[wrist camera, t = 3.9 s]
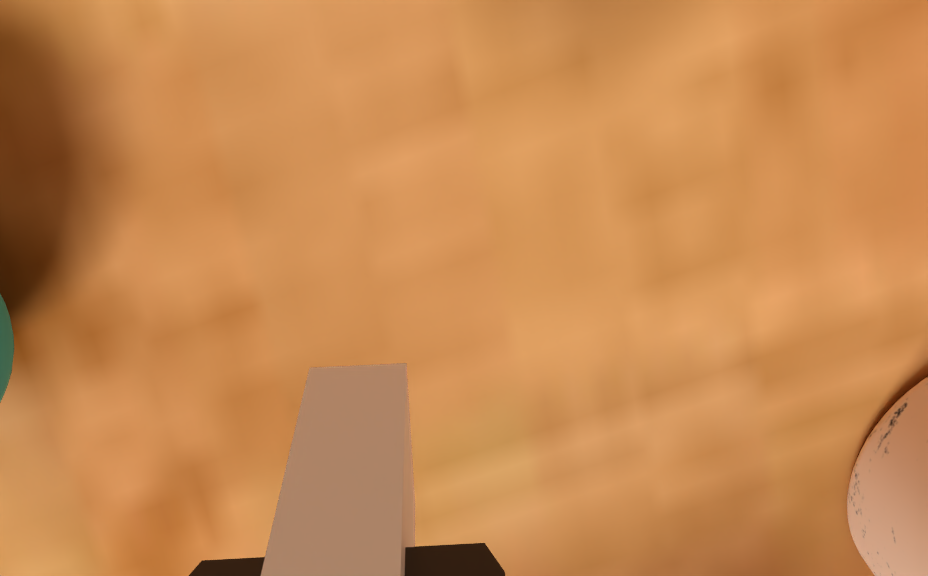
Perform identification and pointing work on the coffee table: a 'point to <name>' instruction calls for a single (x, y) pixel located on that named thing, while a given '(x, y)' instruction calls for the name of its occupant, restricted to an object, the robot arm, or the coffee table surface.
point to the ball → (5, 347)
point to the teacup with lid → (893, 490)
